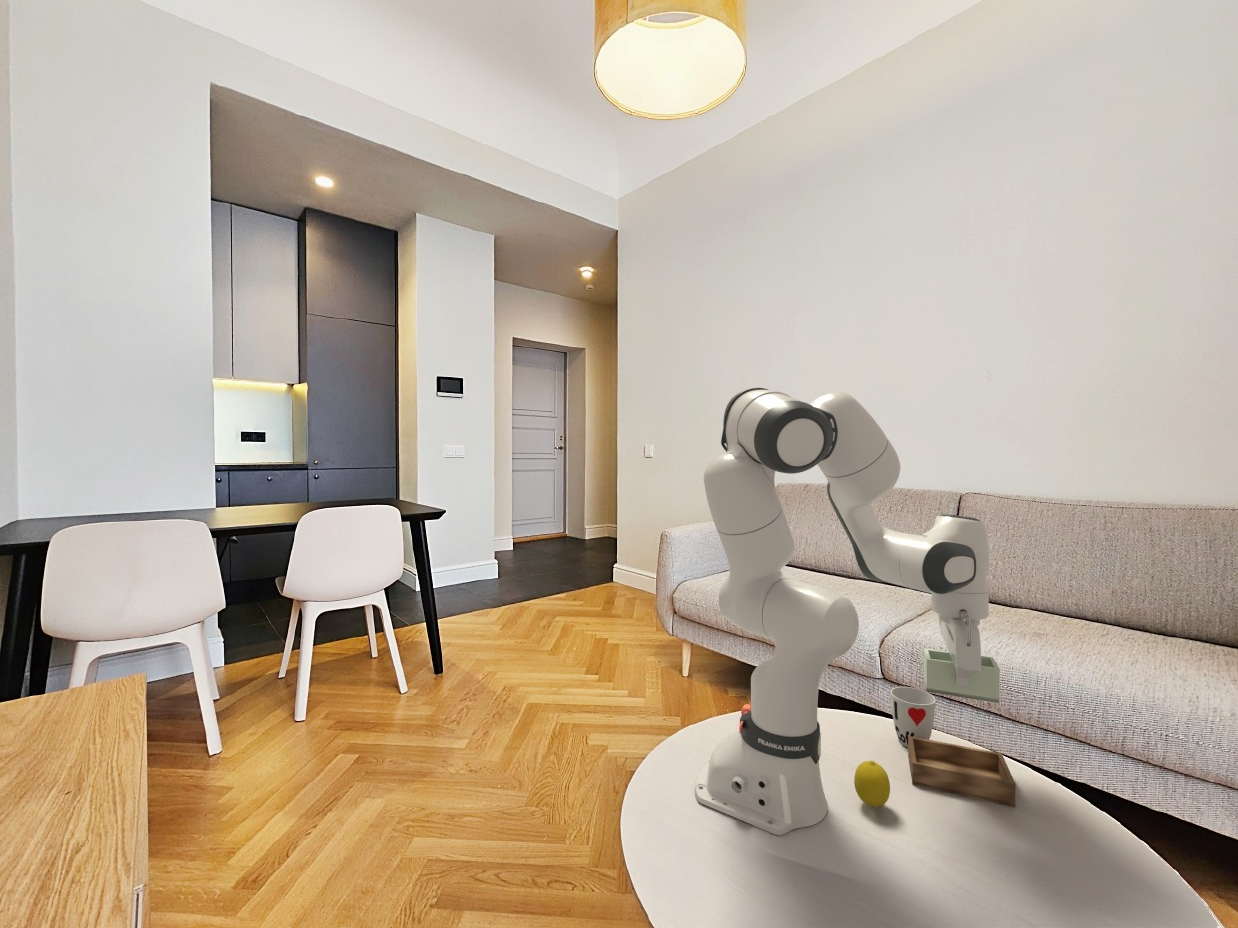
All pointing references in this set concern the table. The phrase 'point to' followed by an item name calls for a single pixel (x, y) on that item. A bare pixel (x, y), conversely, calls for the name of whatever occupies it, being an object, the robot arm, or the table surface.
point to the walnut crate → (961, 770)
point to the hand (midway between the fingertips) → (958, 677)
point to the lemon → (872, 784)
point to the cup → (912, 713)
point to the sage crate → (944, 677)
